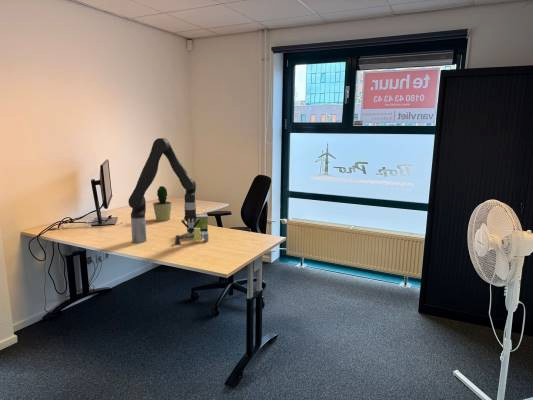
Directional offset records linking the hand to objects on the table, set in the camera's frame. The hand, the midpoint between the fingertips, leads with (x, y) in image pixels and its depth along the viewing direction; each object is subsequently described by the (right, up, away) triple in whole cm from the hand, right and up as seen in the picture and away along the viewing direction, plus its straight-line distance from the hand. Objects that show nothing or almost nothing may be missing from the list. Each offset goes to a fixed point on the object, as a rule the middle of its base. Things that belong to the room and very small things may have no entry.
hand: (191, 233), depth 257 cm
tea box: (+1, -3, +21) cm, 22 cm away
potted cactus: (-37, +5, +65) cm, 75 cm away
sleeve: (+4, -5, +2) cm, 7 cm away
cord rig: (+1, -6, +2) cm, 7 cm away
